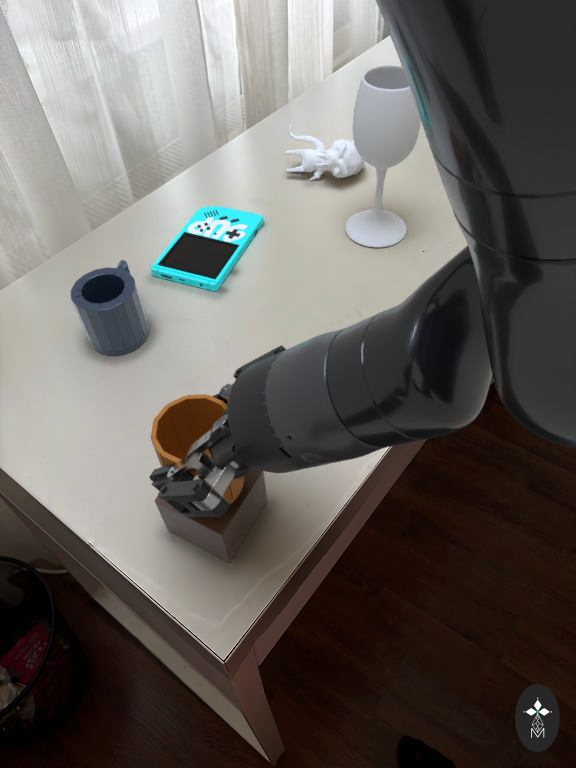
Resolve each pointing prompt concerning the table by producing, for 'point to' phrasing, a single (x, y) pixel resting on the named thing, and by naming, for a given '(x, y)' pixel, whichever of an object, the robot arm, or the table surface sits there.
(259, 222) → the handheld game console
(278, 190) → the table surface
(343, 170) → the figurine
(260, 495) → the block
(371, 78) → the wineglass
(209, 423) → the orange hollow slatted cylinder
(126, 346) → the mug
